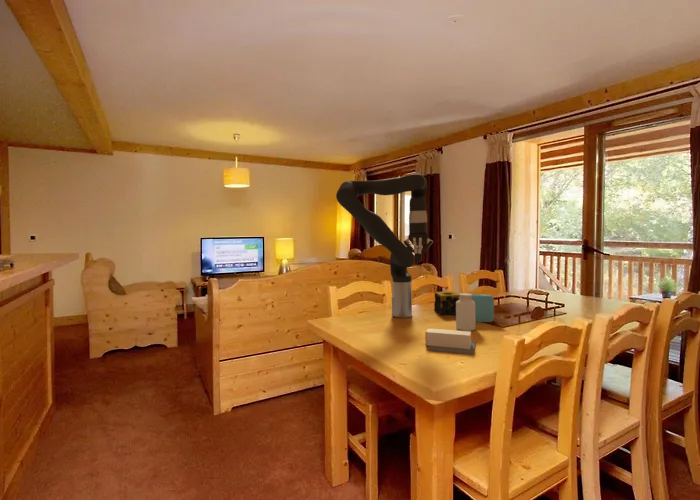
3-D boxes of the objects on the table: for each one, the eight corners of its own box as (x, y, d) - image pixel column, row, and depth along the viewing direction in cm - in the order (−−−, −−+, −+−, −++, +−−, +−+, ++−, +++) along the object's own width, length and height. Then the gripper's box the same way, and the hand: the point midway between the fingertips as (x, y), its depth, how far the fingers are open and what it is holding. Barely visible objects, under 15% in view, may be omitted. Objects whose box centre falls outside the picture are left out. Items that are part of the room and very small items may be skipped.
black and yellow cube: (433, 310, 198) (433, 291, 198) (453, 310, 199) (452, 291, 199) (440, 315, 188) (440, 295, 188) (460, 314, 189) (460, 294, 188)
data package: (491, 319, 178) (491, 294, 177) (493, 322, 174) (494, 296, 173) (465, 319, 180) (465, 294, 179) (466, 321, 176) (466, 296, 175)
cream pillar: (425, 331, 143) (470, 335, 137) (427, 328, 148) (471, 331, 142) (425, 345, 144) (470, 349, 138) (427, 341, 148) (471, 344, 143)
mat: (427, 350, 139) (427, 349, 139) (433, 338, 152) (433, 337, 152) (474, 354, 133) (474, 353, 133) (475, 342, 146) (475, 341, 146)
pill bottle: (476, 327, 167) (476, 293, 166) (474, 332, 159) (474, 296, 158) (457, 325, 170) (457, 292, 169) (454, 330, 163) (454, 295, 162)
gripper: (400, 222, 162) (401, 263, 163) (432, 221, 157) (432, 263, 159) (404, 222, 169) (405, 261, 170) (435, 221, 164) (435, 261, 166)
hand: (418, 262), depth 165 cm, fingers closed
